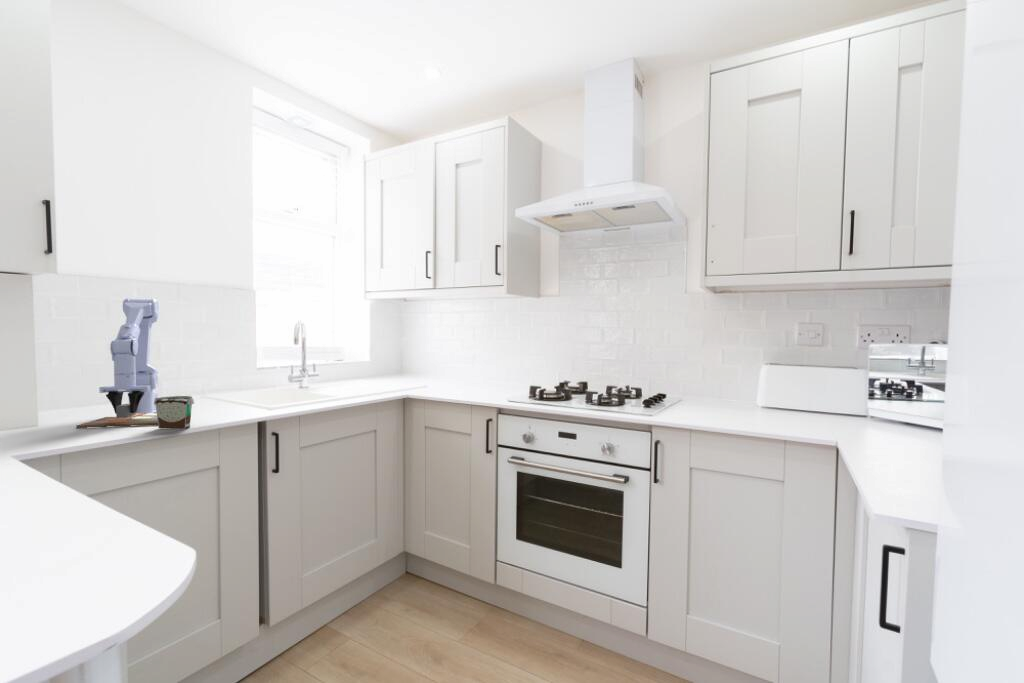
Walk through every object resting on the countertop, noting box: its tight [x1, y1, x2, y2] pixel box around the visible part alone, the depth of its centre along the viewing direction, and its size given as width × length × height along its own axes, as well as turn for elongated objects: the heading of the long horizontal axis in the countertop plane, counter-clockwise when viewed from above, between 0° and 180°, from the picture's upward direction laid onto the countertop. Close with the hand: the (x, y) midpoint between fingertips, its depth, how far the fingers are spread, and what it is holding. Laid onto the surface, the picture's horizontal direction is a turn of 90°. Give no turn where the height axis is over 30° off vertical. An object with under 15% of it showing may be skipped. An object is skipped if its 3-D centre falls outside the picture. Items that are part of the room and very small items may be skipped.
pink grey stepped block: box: [107, 403, 144, 423], centre depth 159 cm, size 10×6×5 cm, turn 11°
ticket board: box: [76, 412, 158, 429], centre depth 159 cm, size 14×25×2 cm, turn 101°
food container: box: [154, 395, 195, 430], centre depth 152 cm, size 12×6×10 cm, turn 84°
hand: (126, 413), depth 159 cm, fingers open, 4 cm apart
